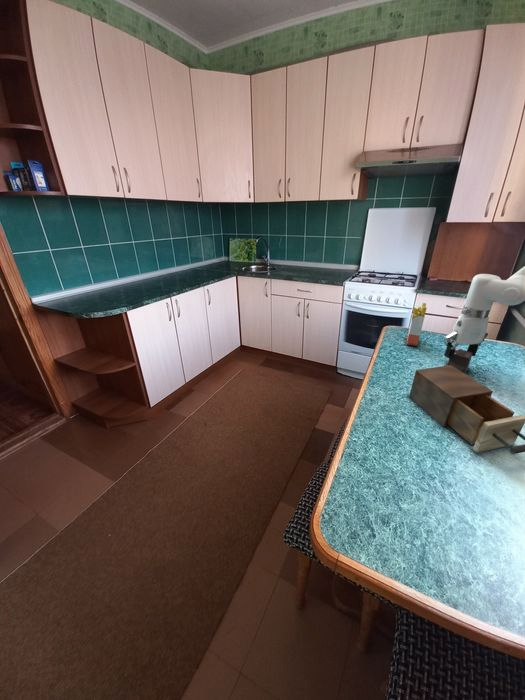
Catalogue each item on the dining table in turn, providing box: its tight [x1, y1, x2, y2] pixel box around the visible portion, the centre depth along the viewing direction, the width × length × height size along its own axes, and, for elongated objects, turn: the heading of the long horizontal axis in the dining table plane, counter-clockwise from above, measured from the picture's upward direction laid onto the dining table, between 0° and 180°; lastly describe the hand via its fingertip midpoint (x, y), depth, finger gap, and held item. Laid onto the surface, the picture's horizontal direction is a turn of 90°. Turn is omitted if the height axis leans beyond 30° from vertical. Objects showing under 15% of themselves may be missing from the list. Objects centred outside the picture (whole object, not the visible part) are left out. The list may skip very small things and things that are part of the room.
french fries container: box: [406, 302, 427, 347], centre depth 125 cm, size 5×11×18 cm, turn 153°
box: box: [446, 347, 473, 374], centre depth 107 cm, size 6×6×7 cm
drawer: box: [447, 394, 525, 455], centre depth 74 cm, size 20×11×9 cm, turn 13°
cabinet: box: [408, 365, 493, 428], centre depth 86 cm, size 15×13×11 cm
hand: (459, 356), depth 106 cm, fingers open, 9 cm apart
